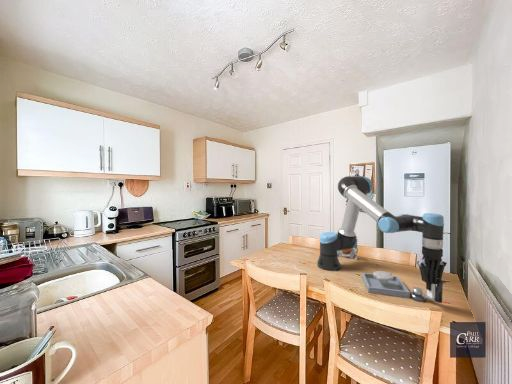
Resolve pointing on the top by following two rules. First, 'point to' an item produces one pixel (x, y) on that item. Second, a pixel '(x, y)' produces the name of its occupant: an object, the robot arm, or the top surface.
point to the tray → (390, 288)
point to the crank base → (417, 297)
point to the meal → (348, 253)
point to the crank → (438, 292)
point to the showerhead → (383, 277)
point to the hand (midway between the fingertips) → (430, 296)
